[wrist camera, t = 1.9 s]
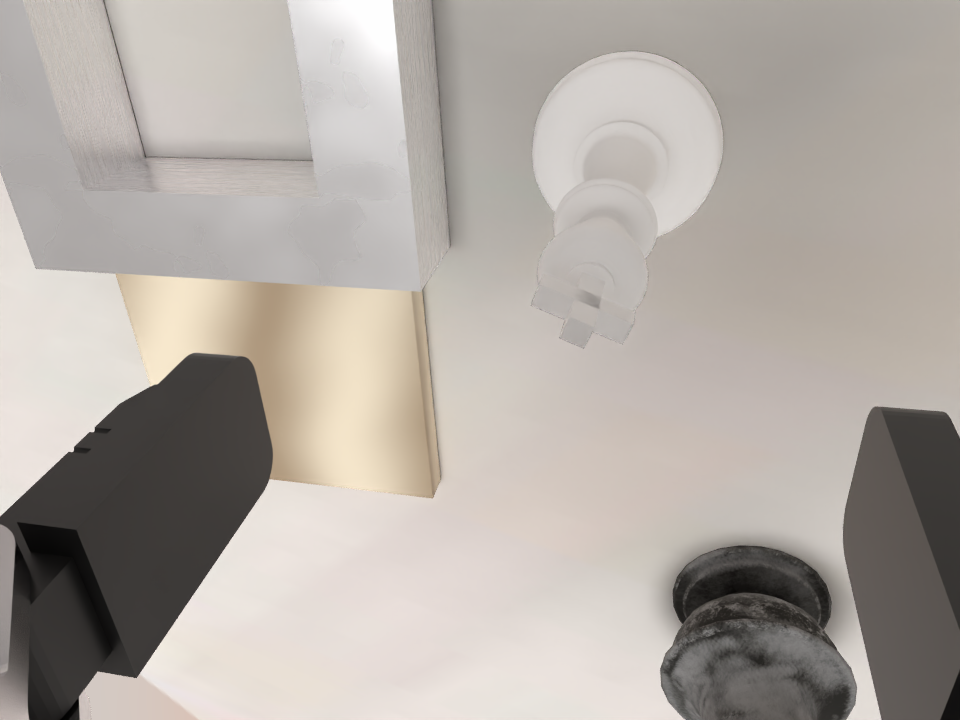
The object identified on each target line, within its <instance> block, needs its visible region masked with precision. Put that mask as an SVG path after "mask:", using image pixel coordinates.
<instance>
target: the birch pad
mask: <svg viewBox="0 0 960 720" xmlns="http://www.w3.org/2000/svg"><path fill="white" fill-rule="evenodd" d="M115 274H116V273H115ZM116 277H117V280H118V283H119V287H120V290H121V293H122V296H123V300H124V303H125V306H126V309H127V312H128V316H129V319H130V322H131V325H132V328H133V332H134V335H135V338H136V341H137V344H138V348H139V351H140V354H141V357H142V361H143V364H144V367H145V370H146V373H147V377H148V380H149V383H150V386H153V385H155V384H156V385H157V384H159V383H160V382H161V381H162V380H163V379H164V378H165V377H166V376H167V375H168V374H169V373H170V372H171V371H172V370H173V369H174V368H175V367H176V366H177V365H178V364H179V363H180V362H181V361H182V360H183V359H184V358H185V357H187V356H188V355H189V354H192V353H207V354H220V355H233V356H244V357H246V358H248V359H249V360H250V361H251V362H252V364H253V366H254V368H255V371H256V375H257V380H258V384H259V389H260V393H261V398H262V402H263V407H264V411H265V415H266V420H267V424H268V429H269V433H270V438H271V442H272V448H273V463H272V470H271V474H270V478H269V479H274V480H282V481H291V482H299V483H308V484H316V485H325V486H333V487H341V488H350V489H358V490H367V491H375V492H384V493H392V494H401V495H409V496H417V497H426V498H433V497H434V494H435V492H436V490H437V487H438V485H439V483H440V480H441V479H440V468H439V458H438V448H437V438H436V427H435V417H434V407H433V396H432V386H431V376H430V365H429V355H428V345H427V334H426V324H425V314H424V303H423V293H422V291H421V292H417V291H401V290H384V289H367V288H350V287H334V286H317V285H300V284H283V283H267V282H250V281H233V280H216V279H200V278H183V277H166V276H149V275H133V274H116Z"/></svg>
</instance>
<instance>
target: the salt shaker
mask: <svg viewBox="0 0 960 720" xmlns="http://www.w3.org/2000/svg"><path fill="white" fill-rule="evenodd" d="M673 605H674V609H675V611H676V613H677V616H678V618H679V620H680V621H681V622H682V624H683V625H682V627H681V628H680V630H679V632H678V633H677V635H676V637H675V640H674V643H673V646H672V647H671V648H670V649H669V650H668V651H667V652H666V654H665V657H664V660H663V663H662V665H661V668H660V673H661V687H662V689H663V691H664V693H665V695H666V697H667V700H668V702H669V703H670V704H671V705H672V706H673V707H674V709H675V710H676V711H677V712H678V713H679V714H680V715H681V716H682V717H683V718H684V719H686V720H846V719H847V717H848V716H849V714H850V712H851V711H852V709H853V707H854V705H855V701H856V692H857V686H856V682H855V679H854V676H853V673H852V670H851V668H850V666H849V665H848V664H847V662H846V661H845V660H844V659H843V657H842V656H841V655H840V653H839V652H838V651H837V649H836V647H835V645H834V644H833V642H832V641H831V640H830V638H829V637H828V636H827V634H826V633H825V631H824V628H825V626H826V624H827V622H828V620H829V618H830V613H831V599H830V595H829V592H828V589H827V586H826V584H825V583H824V582H823V580H822V579H821V578H820V576H819V575H818V574H817V572H816V571H815V570H813V569H812V568H811V567H809V566H808V565H807V564H805V563H804V562H803V561H801V560H799V559H797V558H795V557H793V556H791V555H788V554H786V553H784V552H781V551H777V550H773V549H769V548H764V547H754V546H735V547H728V548H722V549H717V550H715V551H712V552H709V553H707V554H704V555H701V556H700V557H698V558H697V559H695V560H694V561H692V562H691V563H689V564H688V565H687V566H686V567H685V568H684V569H683V571H682V572H681V573H680V574H679V576H678V577H677V580H676V583H675V586H674V589H673Z"/></svg>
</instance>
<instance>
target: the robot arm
mask: <svg viewBox="0 0 960 720" xmlns="http://www.w3.org/2000/svg"><path fill="white" fill-rule="evenodd" d="M272 463H273V448H272V442H271V438H270V433H269V429H268V424H267V420H266V415H265V411H264V407H263V402H262V398H261V393H260V389H259V384H258V380H257V375H256V371H255V368H254V366H253V364H252V362H251V361H250V360H249V359H248V358H246V357H244V356H233V355H220V354H207V353H192V354H189V355H188V356H187V357H185V358H184V359H183V360H182V361H181V362H180V363H179V364H178V365H177V366H176V367H175V368H174V369H173V370H172V371H171V372H170V373H169V374H168V375H167V376H166V377H165V378H164V379H163V380H162V381H161V382H160V383H159V384H157V385H156V384H155V385H153V386H151V387H149V388H147V389H145V390H144V391H142V392H140V393H138V394H136V395H135V396H133V397H131V398H129V399H127V400H126V401H124V402H122V403H120V404H119V405H118V406H117V407H116V408H115V409H114V410H113V411H112V412H111V413H109V414H108V415H107V416H106V417H105V418H104V419H103V420H102V421H101V422H100V423H99V424H98V425H97V426H96V427H95V431H94V433H93V432H89V433H88V434H87V435H86V436H85V437H84V438H83V439H82V440H81V441H80V442H79V443H78V444H77V445H76V446H75V447H74V452H68V453H67V454H66V455H65V456H64V457H63V458H62V459H61V460H60V461H59V462H58V463H56V464H55V465H54V466H53V467H52V468H51V469H50V470H49V471H48V472H47V473H46V474H45V475H44V476H43V477H42V478H41V479H40V480H38V481H37V482H36V483H35V484H34V485H33V486H32V487H31V488H30V489H29V490H28V491H27V492H26V493H25V494H24V495H23V496H22V497H20V498H19V499H18V500H17V501H16V502H15V503H14V504H13V505H12V506H11V507H10V508H9V509H8V510H7V511H6V512H5V513H4V514H2V515H1V516H0V720H91V706H90V700H89V698H88V696H87V694H86V692H85V688H86V686H87V685H88V684H89V682H90V681H91V680H92V678H93V677H94V675H95V674H96V673H97V671H99V672H105V673H111V674H116V675H122V676H128V677H134V678H137V677H138V675H139V674H140V672H141V671H142V669H143V668H144V666H145V665H146V663H147V662H148V660H149V659H150V658H151V656H152V655H153V653H154V652H155V650H156V649H157V647H158V646H159V644H160V643H161V641H162V640H163V638H164V637H165V635H166V634H167V633H168V631H169V630H170V628H171V627H172V625H173V624H174V622H175V621H176V619H177V618H178V616H179V615H180V613H181V612H182V610H183V609H184V608H185V606H186V605H187V603H188V602H189V600H190V599H191V597H192V596H193V594H194V593H195V591H196V590H197V588H198V587H199V585H200V584H201V583H202V581H203V580H204V578H205V577H206V575H207V574H208V572H209V571H210V569H211V568H212V566H213V565H214V563H215V562H216V561H217V559H218V558H219V556H220V555H221V553H222V552H223V550H224V549H225V547H226V546H227V544H228V543H229V541H230V540H231V538H232V537H233V536H234V534H235V533H236V531H237V530H238V528H239V527H240V525H241V524H242V522H243V521H244V519H245V518H246V516H247V515H248V513H249V512H250V511H251V509H252V508H253V506H254V505H255V503H256V502H257V500H258V499H259V497H260V496H261V494H262V493H263V491H264V490H265V488H266V486H267V484H268V481H269V478H270V474H271V470H272ZM843 545H844V555H845V560H846V565H847V569H848V574H849V578H850V582H851V587H852V591H853V596H854V600H855V604H856V609H857V613H858V618H859V622H860V626H861V631H862V635H863V640H864V644H865V648H866V653H867V657H868V662H869V666H870V670H871V675H872V679H873V684H874V688H875V692H876V697H877V701H878V706H879V710H880V714H881V719H882V720H960V438H959V436H958V434H957V431H956V429H955V427H954V425H953V423H952V421H951V419H950V417H949V416H948V415H947V414H946V413H945V412H940V411H927V410H914V409H901V408H888V407H874V408H873V409H872V410H871V411H870V413H869V415H868V418H867V421H866V425H865V429H864V433H863V437H862V441H861V445H860V449H859V454H858V458H857V462H856V466H855V470H854V474H853V478H852V482H851V487H850V491H849V495H848V499H847V503H846V508H845V514H844V524H843Z"/></svg>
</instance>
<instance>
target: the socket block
mask: <svg viewBox="0 0 960 720" xmlns="http://www.w3.org/2000/svg"><path fill="white" fill-rule="evenodd" d="M287 2H288V8H289V14H290V21H291V27H292V33H293V39H294V46H295V52H296V58H297V64H298V71H299V77H300V83H301V89H302V96H303V102H304V108H305V114H306V121H307V127H308V133H309V139H310V146H311V152H312V158H313V161H289V160H246V159H202V158H158V157H145V155H144V151H143V147H142V144H141V140H140V136H139V132H138V129H137V125H136V121H135V118H134V114H133V110H132V106H131V103H130V99H129V95H128V91H127V88H126V84H125V80H124V77H123V73H122V69H121V65H120V62H119V58H118V54H117V51H116V47H115V43H114V39H113V36H112V32H111V28H110V24H109V21H108V17H107V13H106V10H105V6H104V2H103V0H0V172H1V175H2V178H3V180H4V183H5V186H6V188H7V191H8V194H9V197H10V199H11V202H12V205H13V208H14V210H15V213H16V216H17V218H18V221H19V224H20V227H21V229H22V232H23V235H24V238H25V240H26V243H27V246H28V249H29V251H30V254H31V257H32V259H33V262H34V265H35V268H36V269H49V270H66V271H82V272H99V273H116V274H133V275H149V276H166V277H183V278H200V279H216V280H233V281H250V282H267V283H283V284H300V285H317V286H334V287H350V288H367V289H384V290H401V291H417V292H421V291H422V289H423V288H424V286H425V285H426V283H427V282H428V280H429V279H430V277H431V275H432V274H433V272H434V271H435V269H436V268H437V266H438V265H439V263H440V262H441V260H442V259H443V257H444V256H445V254H446V252H447V251H448V249H449V248H450V238H449V225H448V212H447V198H446V185H445V171H444V158H443V145H442V131H441V118H440V105H439V91H438V78H437V65H436V51H435V38H434V24H433V11H432V0H287Z"/></svg>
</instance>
